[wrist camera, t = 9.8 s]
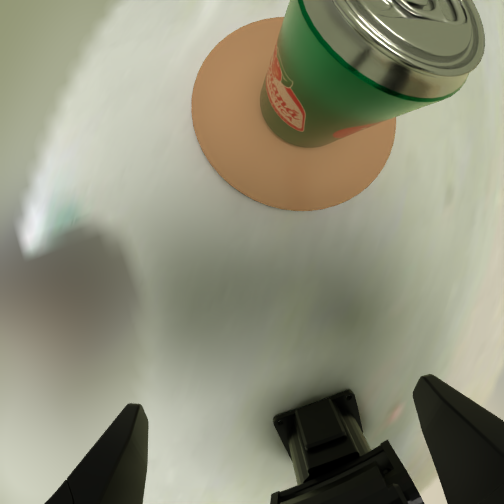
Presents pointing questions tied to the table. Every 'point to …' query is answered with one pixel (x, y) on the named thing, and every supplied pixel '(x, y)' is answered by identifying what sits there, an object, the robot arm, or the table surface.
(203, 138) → the terracotta plate
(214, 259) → the table surface
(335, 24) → the soda can
